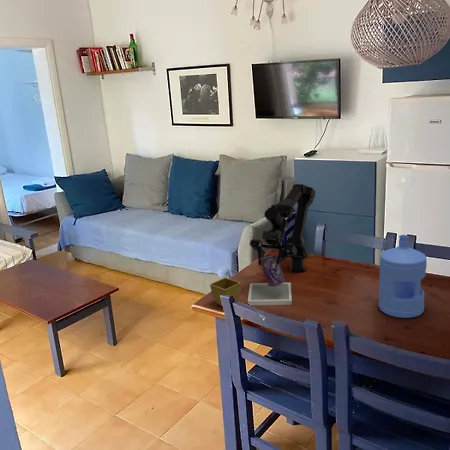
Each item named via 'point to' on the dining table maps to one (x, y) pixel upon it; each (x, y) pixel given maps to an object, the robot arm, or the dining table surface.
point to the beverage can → (272, 270)
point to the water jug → (402, 280)
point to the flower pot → (225, 289)
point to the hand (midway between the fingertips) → (267, 266)
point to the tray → (269, 294)
